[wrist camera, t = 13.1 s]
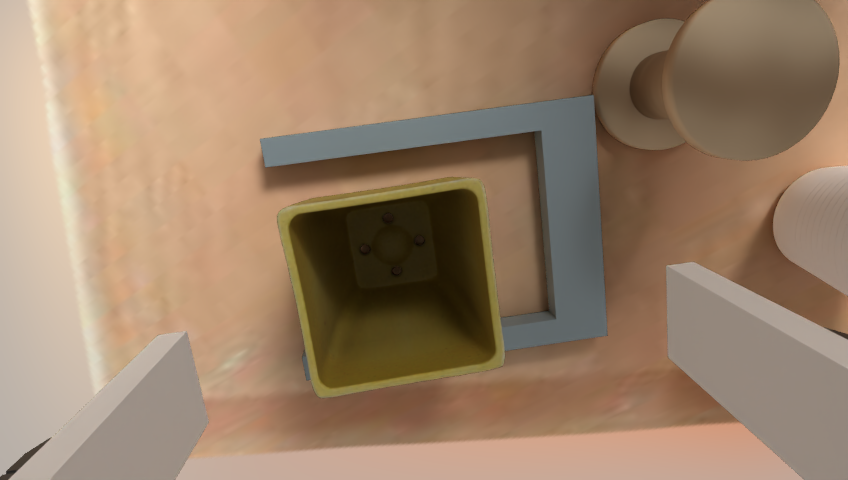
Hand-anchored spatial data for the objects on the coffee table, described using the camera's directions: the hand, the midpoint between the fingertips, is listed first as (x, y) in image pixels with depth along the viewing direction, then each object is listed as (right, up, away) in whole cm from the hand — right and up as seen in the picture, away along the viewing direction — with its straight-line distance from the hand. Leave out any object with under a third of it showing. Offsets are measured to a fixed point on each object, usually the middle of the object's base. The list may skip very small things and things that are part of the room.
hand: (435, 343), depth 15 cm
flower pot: (-2, +3, +17) cm, 18 cm away
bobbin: (+13, +12, +16) cm, 24 cm away
